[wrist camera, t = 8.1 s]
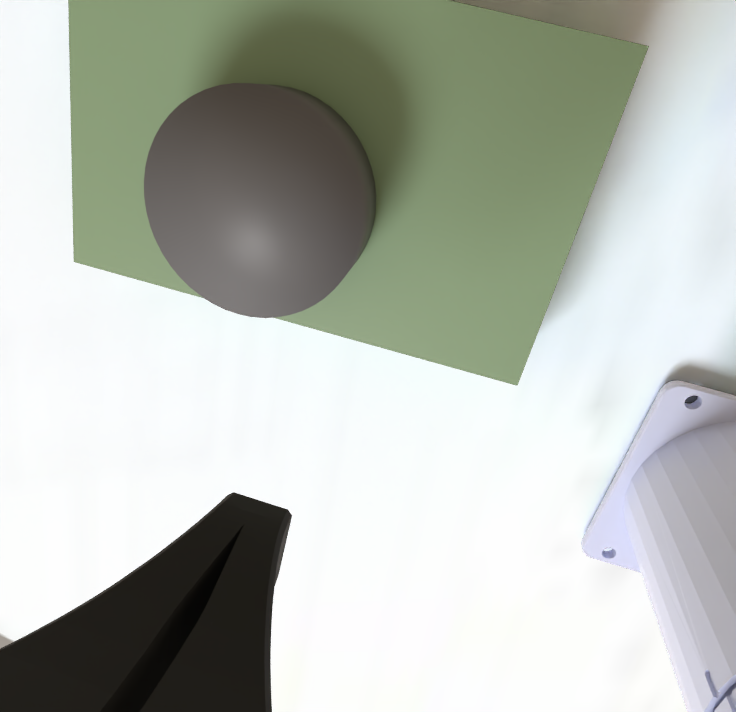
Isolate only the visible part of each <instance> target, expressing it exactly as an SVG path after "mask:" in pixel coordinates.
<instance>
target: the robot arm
mask: <svg viewBox="0 0 736 712" xmlns="http://www.w3.org/2000/svg"><path fill="white" fill-rule="evenodd" d="M690 396H698V398H697V400H696V401H695V402H693V403H691V404H687V403H685V400H686V399H687V398H688V397H690ZM291 517H292V515H291V514H290V512H289V511H288V510H287V509H284V508H281V507H278V506H274V505H271V504H268V503H265V502H262V501H259V500H256V499H253V498H249V497H246V496H243V495H240V494H237V493H231V494H229V495H227V496H226V497H225V498H224V499H223V500H222V501H221V502H220V503H219V504H218V505H217V506H216V507H214V508H213V509H212V510H211V511H210V512H209V513H208V514H207V515H205V516H204V517H203V518H202V519H201V520H200V521H198V522H197V523H196V524H195V525H193V526H192V527H191V528H190V529H189V530H187V531H186V532H185V533H184V534H182V535H181V536H180V537H179V538H177V539H176V540H175V541H173V542H172V543H171V544H170V545H168V546H167V547H166V548H164V549H163V550H162V551H161V552H159V553H158V554H157V555H155V556H154V557H153V558H151V559H150V560H148V561H147V562H146V563H144V564H143V565H141V566H140V567H138V568H137V569H135V570H134V571H133V572H131V573H130V574H128V575H127V576H125V577H124V578H123V579H121V580H120V581H118V582H117V583H115V584H114V585H112V586H111V587H109V588H108V589H106V590H104V591H103V592H101V593H100V594H98V595H97V596H95V597H93V598H92V599H90V600H89V601H87V602H85V603H84V604H82V605H80V606H78V607H77V608H75V609H73V610H72V611H70V612H68V613H67V614H65V615H63V616H61V617H60V618H58V619H56V620H54V621H52V622H50V623H49V624H47V625H45V626H43V627H41V628H39V629H38V630H36V631H34V632H32V633H30V634H28V635H27V636H25V637H23V638H21V639H19V640H17V641H15V642H13V643H11V644H9V645H7V646H5V647H3V648H1V649H0V712H272V706H271V675H270V646H271V619H272V604H273V594H274V586H275V583H276V580H277V577H278V574H279V570H280V565H281V561H282V557H283V552H284V548H285V543H286V539H287V535H288V530H289V526H290V522H291ZM581 545H582V549H583V552H584V553H585V555H586V556H588V557H590V558H593V559H597V560H600V561H604V562H607V563H610V564H614V565H617V566H620V567H624V568H627V569H630V570H634V571H637V572H640V573H641V574H642V577H643V580H644V583H645V586H646V589H647V592H648V595H649V598H650V601H651V604H652V607H653V610H654V613H655V616H656V619H657V622H658V625H659V628H660V631H661V634H662V637H663V640H664V643H665V646H666V649H667V652H668V655H669V658H670V661H671V664H672V667H673V670H674V673H675V676H676V679H677V682H678V685H679V688H680V691H681V694H682V697H683V700H684V703H685V706H686V709H687V712H736V396H735V395H732V394H728V393H724V392H721V391H717V390H713V389H710V388H706V387H702V386H699V385H695V384H691V383H688V382H684V381H678V380H675V381H670V382H668V383H666V384H665V385H664V386H663V387H662V388H661V389H660V391H659V393H658V395H657V397H656V399H655V401H654V403H653V404H652V406H651V408H650V410H649V412H648V414H647V416H646V418H645V420H644V422H643V424H642V425H641V427H640V429H639V431H638V433H637V435H636V437H635V439H634V441H633V443H632V445H631V447H630V448H629V450H628V452H627V454H626V456H625V458H624V460H623V462H622V464H621V466H620V468H619V470H618V471H617V473H616V475H615V477H614V479H613V481H612V483H611V485H610V487H609V489H608V491H607V493H606V494H605V496H604V498H603V500H602V502H601V504H600V506H599V508H598V510H597V512H596V514H595V516H594V517H593V519H592V521H591V523H590V525H589V527H588V529H587V531H586V533H585V535H584V537H583V538H582V542H581ZM606 548H612V550H610V551H603V550H604V549H606Z"/></svg>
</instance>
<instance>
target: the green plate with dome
mask: <svg viewBox="0 0 736 712" xmlns="http://www.w3.org/2000/svg"><path fill="white" fill-rule="evenodd" d="M68 3H69V52H70V100H71V148H72V197H73V245H74V262H76V263H80V264H84V265H87V266H91V267H94V268H98V269H102V270H105V271H109V272H112V273H116V274H119V275H123V276H127V277H130V278H134V279H137V280H141V281H145V282H148V283H152V284H155V285H159V286H162V287H166V288H170V289H173V290H177V291H180V292H184V293H187V294H191V295H195V296H198V297H202V298H205V299H206V300H208V301H210V302H211V303H213V304H215V305H217V306H219V307H221V308H223V309H225V310H228V311H231V312H234V313H237V314H241V315H246V316H250V317H260V318H272V317H273V318H277V319H281V320H284V321H288V322H291V323H295V324H298V325H302V326H306V327H309V328H313V329H316V330H320V331H323V332H327V333H331V334H334V335H338V336H341V337H345V338H349V339H352V340H356V341H359V342H363V343H366V344H370V345H374V346H377V347H381V348H384V349H388V350H392V351H395V352H399V353H402V354H406V355H409V356H413V357H417V358H420V359H424V360H427V361H431V362H434V363H438V364H442V365H445V366H449V367H452V368H456V369H460V370H463V371H467V372H470V373H474V374H477V375H481V376H485V377H488V378H492V379H495V380H499V381H502V382H506V383H510V384H513V385H518V382H519V380H520V377H521V375H522V372H523V370H524V367H525V364H526V362H527V359H528V357H529V354H530V352H531V349H532V346H533V344H534V341H535V339H536V336H537V333H538V331H539V328H540V326H541V323H542V321H543V318H544V315H545V313H546V310H547V308H548V305H549V303H550V300H551V297H552V295H553V292H554V290H555V287H556V284H557V282H558V279H559V277H560V274H561V272H562V269H563V266H564V264H565V261H566V259H567V256H568V254H569V251H570V248H571V246H572V243H573V241H574V238H575V235H576V233H577V230H578V228H579V225H580V223H581V220H582V217H583V215H584V212H585V210H586V207H587V205H588V202H589V199H590V197H591V194H592V192H593V189H594V186H595V184H596V181H597V179H598V176H599V174H600V171H601V168H602V166H603V163H604V161H605V158H606V156H607V153H608V150H609V148H610V145H611V143H612V140H613V137H614V135H615V132H616V130H617V127H618V125H619V122H620V119H621V117H622V114H623V112H624V109H625V107H626V104H627V101H628V99H629V96H630V94H631V91H632V88H633V86H634V83H635V81H636V78H637V76H638V73H639V70H640V68H641V65H642V63H643V60H644V58H645V55H646V52H647V50H648V47H649V46H646V45H641V44H637V43H633V42H628V41H624V40H620V39H615V38H611V37H607V36H602V35H598V34H594V33H589V32H585V31H581V30H576V29H572V28H568V27H563V26H559V25H555V24H550V23H546V22H542V21H537V20H533V19H529V18H524V17H520V16H516V15H511V14H507V13H503V12H498V11H494V10H490V9H485V8H481V7H477V6H472V5H468V4H464V3H459V2H455V1H451V0H68Z"/></svg>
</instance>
